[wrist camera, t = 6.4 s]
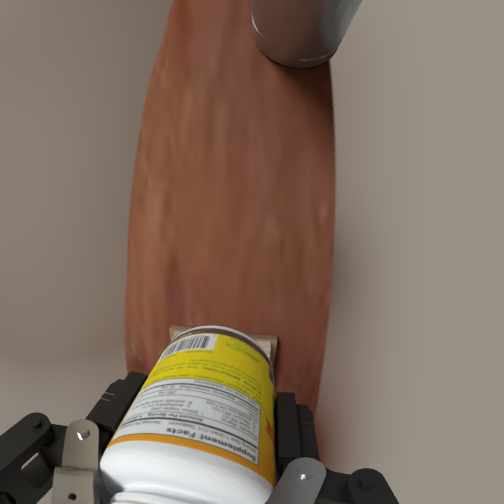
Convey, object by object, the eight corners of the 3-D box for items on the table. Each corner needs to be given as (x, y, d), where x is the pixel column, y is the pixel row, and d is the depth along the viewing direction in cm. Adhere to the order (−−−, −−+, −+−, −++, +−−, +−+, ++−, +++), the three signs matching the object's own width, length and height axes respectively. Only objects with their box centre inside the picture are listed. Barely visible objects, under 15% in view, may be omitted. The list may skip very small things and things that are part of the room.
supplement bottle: (240, 420, 14) (218, 584, 4) (151, 376, 14) (66, 529, 4) (297, 353, 13) (323, 563, 3) (193, 298, 13) (70, 494, 3)
